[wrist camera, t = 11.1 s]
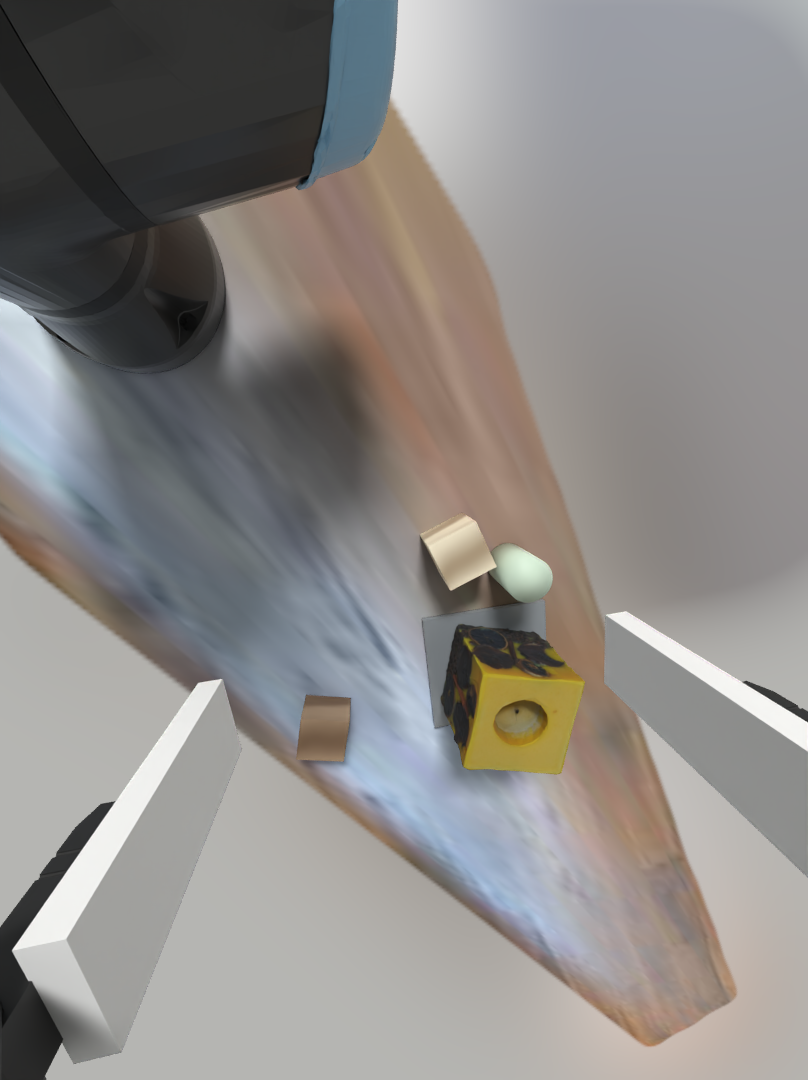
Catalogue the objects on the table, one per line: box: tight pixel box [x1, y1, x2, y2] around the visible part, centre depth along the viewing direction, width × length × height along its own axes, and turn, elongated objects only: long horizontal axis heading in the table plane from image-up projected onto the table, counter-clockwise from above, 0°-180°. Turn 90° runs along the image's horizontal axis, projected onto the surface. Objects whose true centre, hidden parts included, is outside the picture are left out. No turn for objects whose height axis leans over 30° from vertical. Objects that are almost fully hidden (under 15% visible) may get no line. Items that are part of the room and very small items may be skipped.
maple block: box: [420, 513, 497, 591], centre depth 37 cm, size 5×5×5 cm
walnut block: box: [296, 695, 351, 762], centre depth 41 cm, size 5×5×4 cm
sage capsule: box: [489, 543, 553, 603], centre depth 38 cm, size 4×4×6 cm
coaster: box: [422, 599, 546, 728], centre depth 43 cm, size 14×14×1 cm
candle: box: [441, 624, 585, 774], centre depth 38 cm, size 10×10×10 cm
